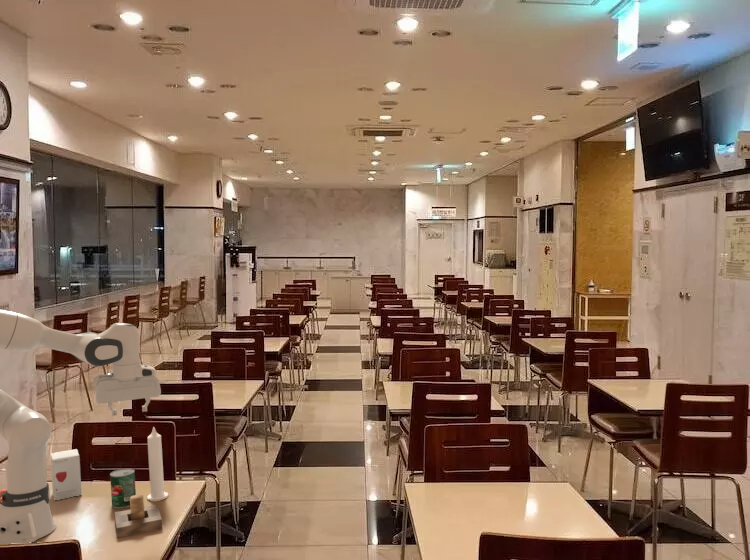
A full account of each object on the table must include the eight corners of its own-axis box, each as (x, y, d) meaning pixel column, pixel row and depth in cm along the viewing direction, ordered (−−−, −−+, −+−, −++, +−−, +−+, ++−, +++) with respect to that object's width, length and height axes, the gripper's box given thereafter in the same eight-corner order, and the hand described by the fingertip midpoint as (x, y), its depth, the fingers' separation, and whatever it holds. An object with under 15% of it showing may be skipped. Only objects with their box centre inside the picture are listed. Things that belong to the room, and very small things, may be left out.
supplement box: (54, 501, 231) (51, 459, 230) (52, 493, 238) (49, 452, 237) (82, 496, 235) (79, 454, 234) (79, 488, 243) (77, 448, 242)
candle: (142, 499, 230) (138, 428, 228) (158, 492, 236) (154, 423, 234) (157, 502, 226) (153, 430, 225) (172, 495, 233) (168, 425, 231)
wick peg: (132, 528, 206) (130, 500, 206) (131, 523, 210) (129, 496, 209) (145, 525, 208) (143, 497, 207) (144, 521, 211) (142, 493, 211)
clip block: (117, 537, 200) (116, 528, 200) (115, 521, 212) (114, 512, 212) (162, 528, 205) (161, 519, 205) (157, 513, 217) (157, 504, 217)
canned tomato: (106, 507, 224) (104, 475, 223) (121, 498, 231) (119, 467, 231) (127, 509, 222) (125, 476, 221) (141, 499, 230) (139, 468, 229)
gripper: (93, 377, 210) (95, 419, 211) (160, 369, 218) (162, 411, 219) (92, 373, 216) (95, 415, 217) (158, 366, 224) (160, 406, 225)
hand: (129, 413), depth 218 cm, fingers open, 8 cm apart
